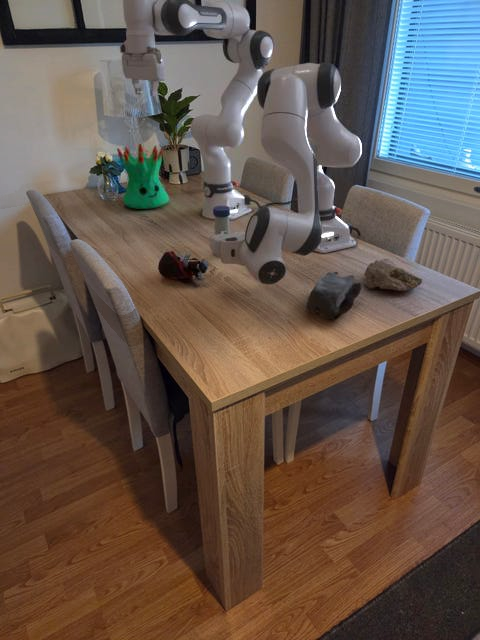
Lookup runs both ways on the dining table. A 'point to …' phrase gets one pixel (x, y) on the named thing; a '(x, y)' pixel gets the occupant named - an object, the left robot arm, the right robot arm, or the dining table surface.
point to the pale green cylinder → (221, 224)
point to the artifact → (389, 276)
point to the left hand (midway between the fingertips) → (146, 95)
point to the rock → (333, 295)
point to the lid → (221, 211)
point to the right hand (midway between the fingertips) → (238, 231)
